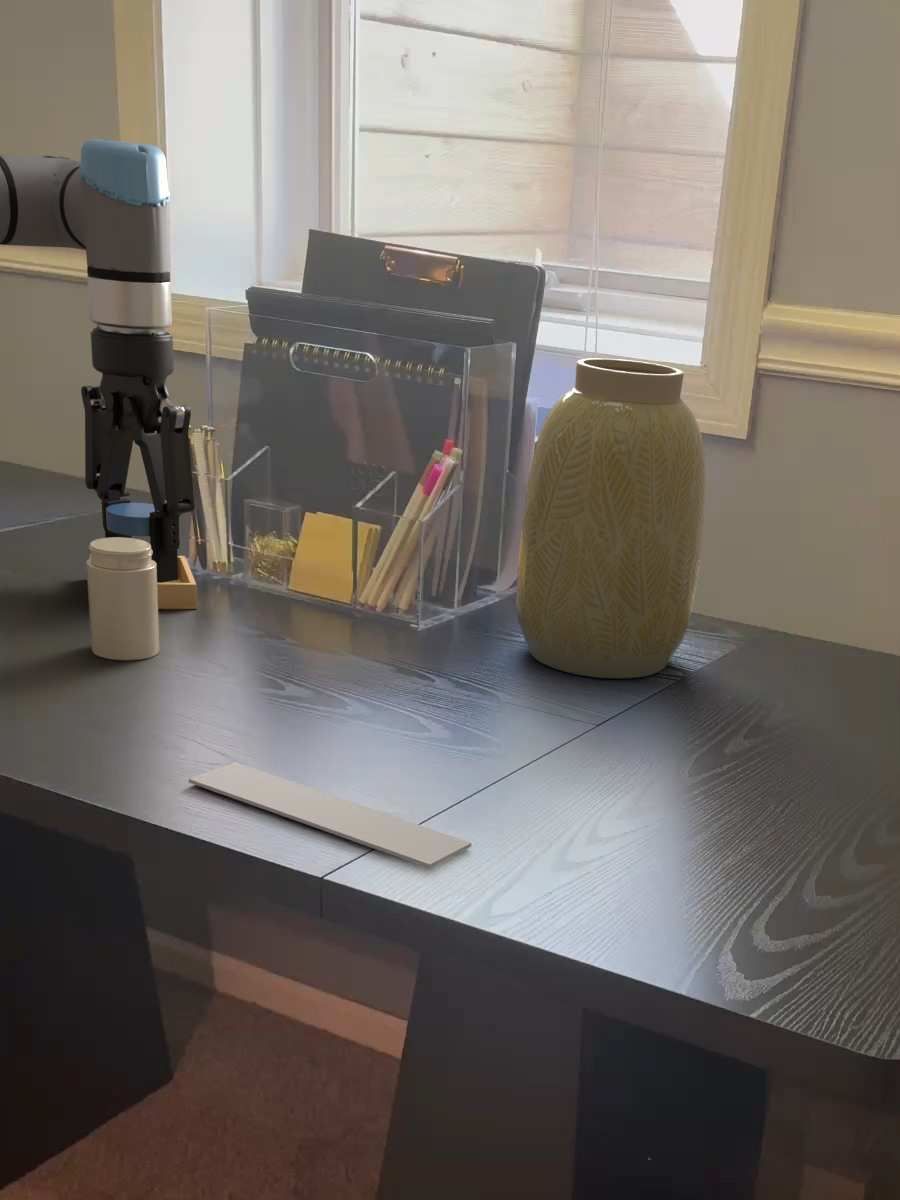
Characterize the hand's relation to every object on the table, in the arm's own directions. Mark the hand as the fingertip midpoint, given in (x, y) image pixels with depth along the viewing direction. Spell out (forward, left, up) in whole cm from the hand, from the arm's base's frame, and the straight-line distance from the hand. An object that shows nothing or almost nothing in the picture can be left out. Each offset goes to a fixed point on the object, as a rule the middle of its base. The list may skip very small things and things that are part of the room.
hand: (142, 572), depth 149 cm
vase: (+42, +22, -2) cm, 47 cm away
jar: (+14, -13, -2) cm, 19 cm away
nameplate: (+53, -25, -2) cm, 59 cm away
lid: (0, 0, +6) cm, 6 cm away
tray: (0, 0, -2) cm, 2 cm away
